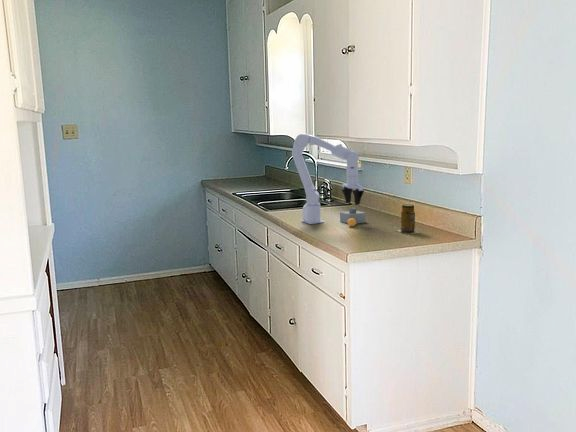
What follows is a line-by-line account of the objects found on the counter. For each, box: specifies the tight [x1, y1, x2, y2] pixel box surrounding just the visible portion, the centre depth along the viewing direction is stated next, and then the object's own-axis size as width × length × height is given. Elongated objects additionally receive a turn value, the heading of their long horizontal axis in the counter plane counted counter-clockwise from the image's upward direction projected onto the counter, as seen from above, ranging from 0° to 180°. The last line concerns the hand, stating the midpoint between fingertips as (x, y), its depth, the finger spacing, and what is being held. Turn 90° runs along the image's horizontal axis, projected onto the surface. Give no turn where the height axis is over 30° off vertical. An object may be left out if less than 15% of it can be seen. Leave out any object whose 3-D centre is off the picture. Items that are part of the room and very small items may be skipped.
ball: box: [347, 218, 357, 228], centre depth 268 cm, size 4×4×4 cm
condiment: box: [397, 203, 421, 235], centre depth 252 cm, size 7×8×12 cm
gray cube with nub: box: [339, 207, 367, 225], centre depth 279 cm, size 9×9×7 cm
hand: (352, 203), depth 278 cm, fingers open, 7 cm apart
